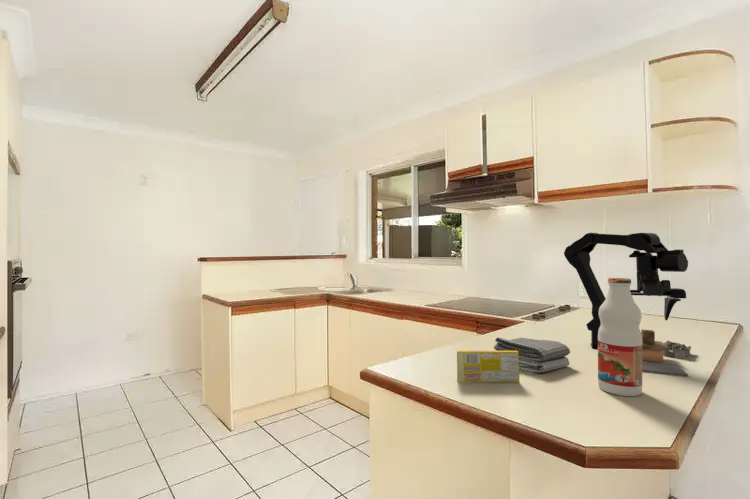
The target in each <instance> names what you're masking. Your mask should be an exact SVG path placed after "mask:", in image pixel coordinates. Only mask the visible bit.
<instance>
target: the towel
mask: <svg viewBox="0 0 750 499" xmlns="http://www.w3.org/2000/svg"><path fill="white" fill-rule="evenodd" d="M494 342H496V343H495V344H494V346H493V349H494V351H518V352H519V370H522V371H526V372H530V373H533V374H535V373H536V374H541V373H542V374H543V373H548V372H550V371H555V370H558V369H561V368H565V367H567V366H570V361H569V360H570V359H569V358H568V356H569V354H570V353H571V350H570V348H569V347H568V346H567V345H566V344H564V343H562V342H560V341H556V340H555V341H554V340H548V339H533V338H528V337H518V338H512V339H505V338H502V337H496V338H495V340H494Z"/></svg>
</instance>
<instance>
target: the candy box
mask: <svg viewBox="0 0 750 499" xmlns="http://www.w3.org/2000/svg"><path fill="white" fill-rule="evenodd" d="M456 371H457V372H456V379H457V382H458V383H466V382H467V383H468V382H470V383H471V382H472V383H473V382H474V383H475V384H476V383H479V384H480V383H484V384H485V383H487V384H488V383H493V384H494V383H497V384H503V383H504V384H507V383H509V384H514V383H515V384H519V383H520V369H519V352H518V351H497V350H456Z"/></svg>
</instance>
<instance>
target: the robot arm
mask: <svg viewBox="0 0 750 499" xmlns="http://www.w3.org/2000/svg"><path fill="white" fill-rule="evenodd" d="M598 244H599V245H610V246H611V245H613V246H623V247H626V248H629V249H632V250H633V252H631V253H630V255H628V257H629V258H635V260H636V264H635V265H636V267H635V268H636V289H630V292H631V295H632V296H644V297H645V296H646V297H651V296H654V297H655V296H657V297H664V308H663V310H664V311H663V314H664V321H668V320H669V317H670V314H671V312H672V310H673V308H674V306H675V304H676V303H677V302H681V300H682V299H687V291H686V290H685V289H684V288H679V287H678V288H676V287H673V288H671V287H672V286H671V285H672V284H671V280H669V279H663V280H661V281H660V276H659V275H660V274H659V270H660V271H661V272H667V273H668V272H669V273H671V272H672V273H675V272H676V273H677V272H678V273H684V272H686V271H687V270H688V267H689V260H688V258H687V256H686V254H685V252H684V251H685V250H684V249H673V250H668V249H667V247H666V246H665V245H664V244H663V242H661V239H660V236H659V235H658V234H657V233H653V232H637V233H628V234H613V233H612V234H611V233H598V232H587V233H585V234H583V236H582V237H580V238H578V240H575V241H574V242H573V243H571V244H570V245H568V246H566V248H565V249H564V252H563V255H564V257H565V259H566V261H567V262H568V263H569V264H570V265H571V266H572V267H573V268H574V269H575V270H576V272H577V274H578V276H579V279H580V281H581V283H582V285H583V287H584V290H585V293H586V294H587V296H588V299H589V301H590V303H591V315H592V319H591V320H589V322H587V323H586V327H587V330H588V331H590V334H591V335H590V342H591V343H590V347H591V349H597V350H598V330H599V327H600V325H601V322H600V318H599V308H600V306H601V305H602V304H603V302H604V301H605V299H606V296H605V295H604V292H603V290H602V288H601V286H600V284H599V281H598V280H597V277H596V275H595V273H594V271H593V269H592V267H591V255H590V254H591V252H592V251H594V250H595V247H596V246H597V245H598ZM641 251H644V252H641ZM653 254H656V255H653Z"/></svg>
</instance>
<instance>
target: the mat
mask: <svg viewBox="0 0 750 499" xmlns="http://www.w3.org/2000/svg"><path fill="white" fill-rule="evenodd" d="M642 371H645V372H644V373H650V372H653V373H652V374H660V373H661V375H669V374H672V375H671V376H678V375H684V376H683V377H687V376H688V377H689V374H688V373H687V372H686V371H685V370H684V369H683V368H682V367H681V366H679V365H678V364H674V363H666V362H665V363H663V362H649V361H643V360H642Z"/></svg>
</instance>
